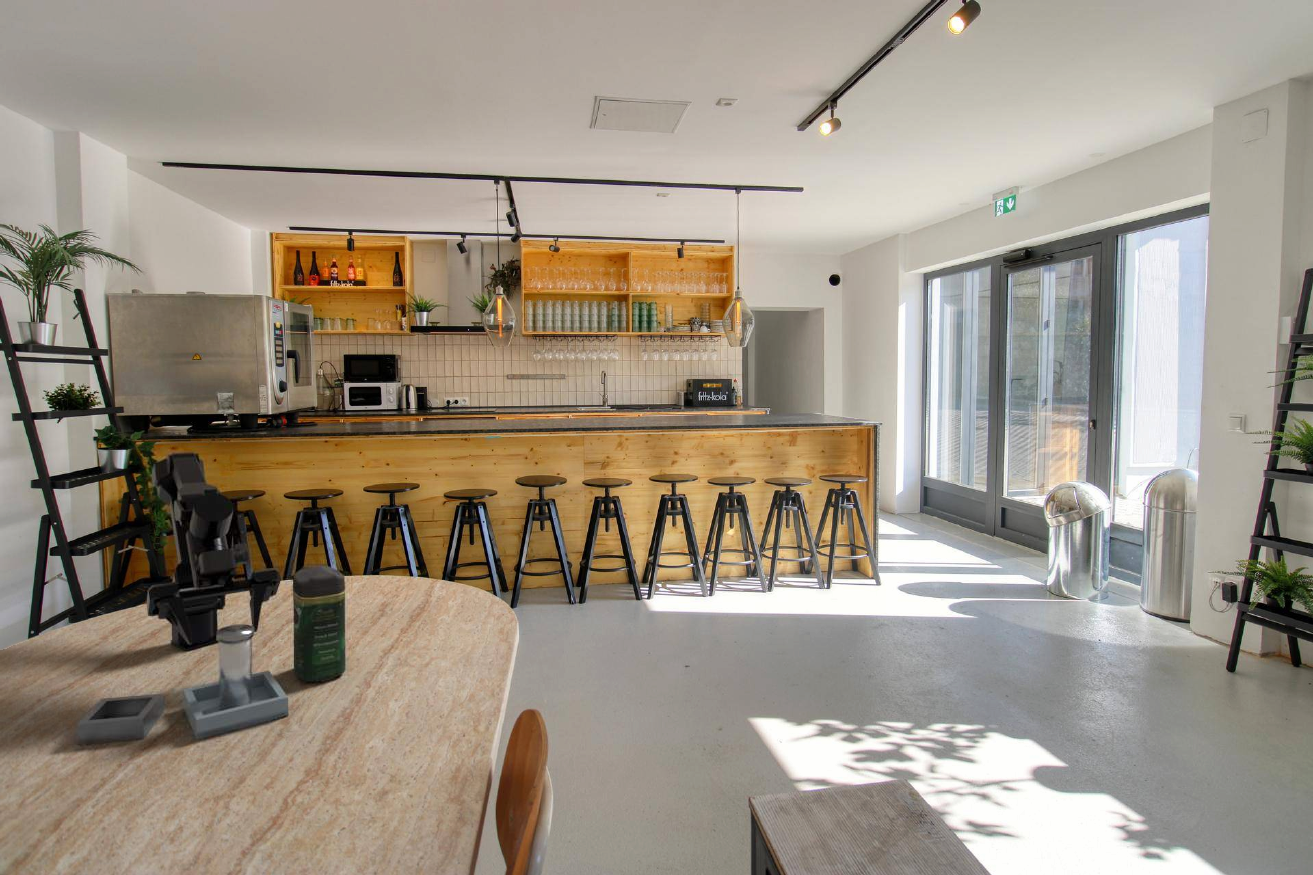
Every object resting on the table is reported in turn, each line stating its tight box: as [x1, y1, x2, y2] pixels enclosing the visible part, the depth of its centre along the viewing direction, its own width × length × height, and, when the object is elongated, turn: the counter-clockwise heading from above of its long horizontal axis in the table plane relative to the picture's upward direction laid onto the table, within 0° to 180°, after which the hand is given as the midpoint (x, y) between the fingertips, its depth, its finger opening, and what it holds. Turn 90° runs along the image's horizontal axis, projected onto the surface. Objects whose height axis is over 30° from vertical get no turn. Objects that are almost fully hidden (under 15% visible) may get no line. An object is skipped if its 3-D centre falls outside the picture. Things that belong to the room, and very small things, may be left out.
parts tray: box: [182, 670, 289, 741], centre depth 113 cm, size 12×12×3 cm
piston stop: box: [216, 623, 255, 711], centre depth 112 cm, size 5×5×12 cm
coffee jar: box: [292, 564, 347, 682], centre depth 127 cm, size 10×8×19 cm
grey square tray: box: [76, 693, 165, 746], centre depth 107 cm, size 8×8×3 cm
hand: (224, 636), depth 118 cm, fingers open, 9 cm apart
